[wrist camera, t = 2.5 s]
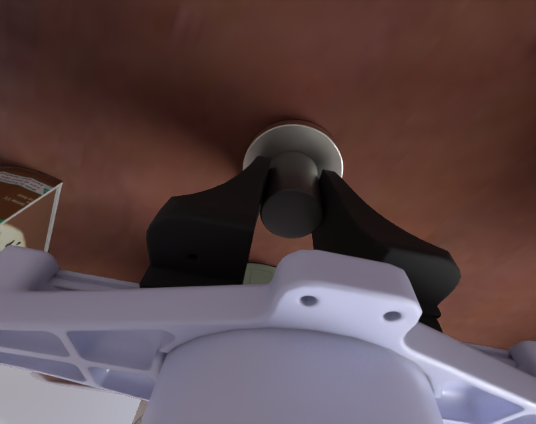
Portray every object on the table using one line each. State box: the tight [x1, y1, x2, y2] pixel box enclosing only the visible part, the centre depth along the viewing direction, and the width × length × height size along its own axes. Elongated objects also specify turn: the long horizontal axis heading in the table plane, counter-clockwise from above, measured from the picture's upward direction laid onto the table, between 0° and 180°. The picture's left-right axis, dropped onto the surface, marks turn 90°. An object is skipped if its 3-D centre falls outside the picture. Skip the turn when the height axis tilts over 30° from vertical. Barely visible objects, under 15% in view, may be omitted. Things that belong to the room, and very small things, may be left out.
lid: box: [243, 120, 343, 238], centre depth 13 cm, size 5×5×4 cm
